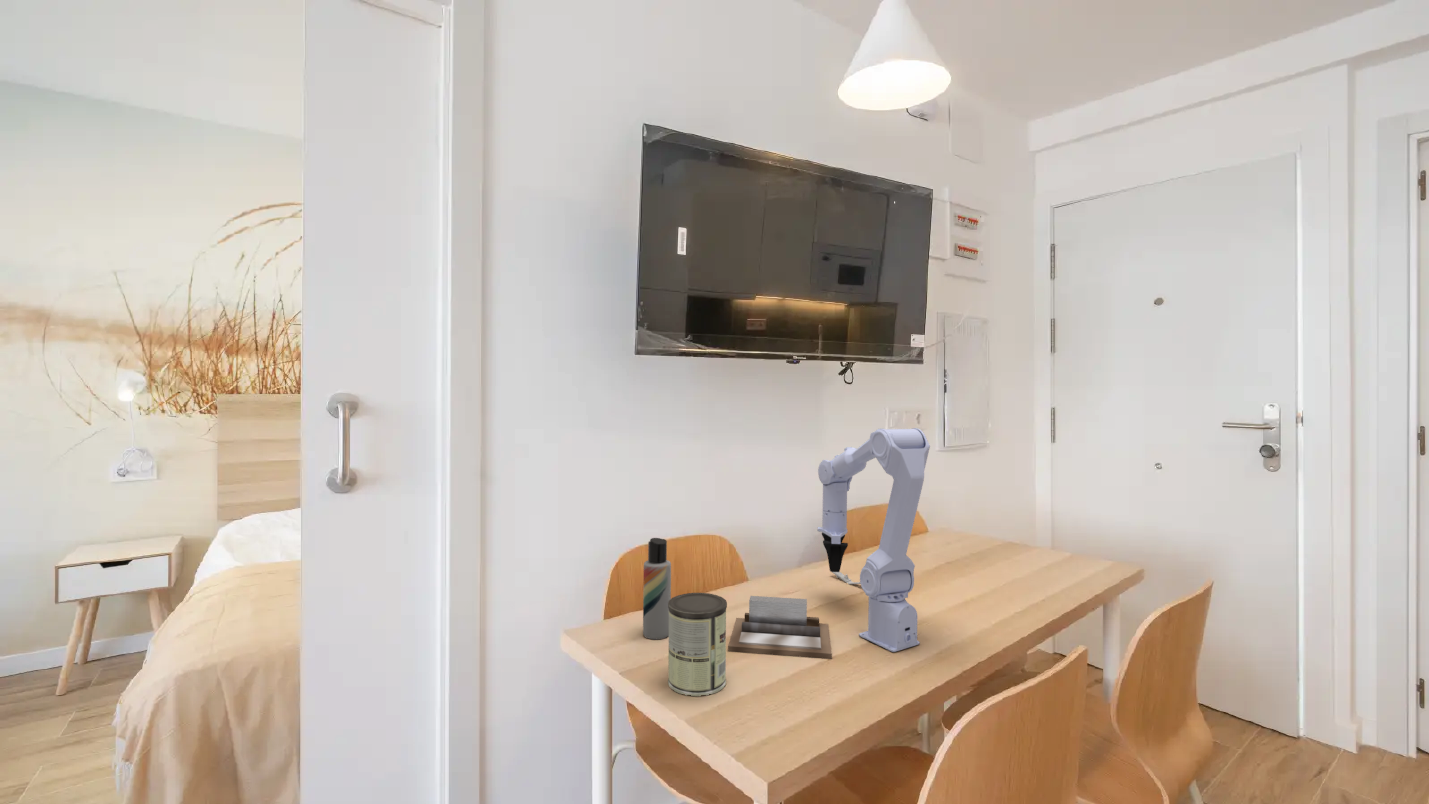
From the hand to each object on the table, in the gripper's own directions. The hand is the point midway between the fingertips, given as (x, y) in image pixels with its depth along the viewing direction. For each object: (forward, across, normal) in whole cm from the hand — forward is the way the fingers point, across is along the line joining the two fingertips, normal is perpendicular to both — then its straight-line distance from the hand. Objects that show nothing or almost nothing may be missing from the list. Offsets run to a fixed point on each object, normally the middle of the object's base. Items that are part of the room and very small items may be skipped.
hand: (833, 566), depth 142 cm
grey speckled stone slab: (+8, +18, -13) cm, 24 cm away
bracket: (+10, -18, +6) cm, 21 cm away
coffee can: (+10, +42, -26) cm, 51 cm away
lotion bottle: (+10, +24, -38) cm, 45 cm away
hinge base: (+9, +22, -12) cm, 26 cm away
